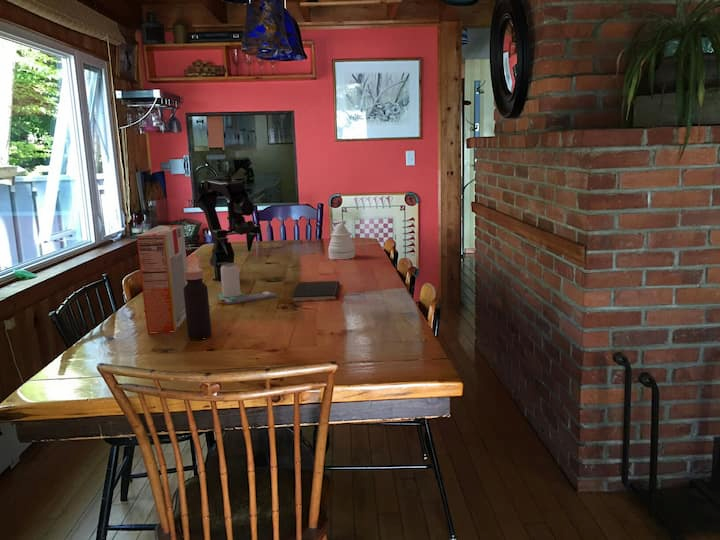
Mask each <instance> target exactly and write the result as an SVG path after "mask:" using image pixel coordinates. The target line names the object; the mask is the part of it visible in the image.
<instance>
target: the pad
mask: <svg viewBox="0 0 720 540" xmlns="http://www.w3.org/2000/svg"><path fill="white" fill-rule="evenodd" d="M240 296H245V295H244V293H243V292H242V291H240ZM217 297H218V300H219V302H222V300H224V299H225V297H224V296H223V293H221V294H217ZM238 297H239V296H238Z"/></svg>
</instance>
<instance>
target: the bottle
mask: <svg viewBox="0 0 720 540" xmlns="http://www.w3.org/2000/svg"><path fill="white" fill-rule="evenodd" d="M203 273H204V272H203V269H202V268H201V269H200V268H195V269H194V268H192V269H188V270H187V271H185V277H186V281H187V285H186V286H185V287H184V289H183V291H184V301H185V311H186V319H185V321H186V327H187V330H186V331H187V338H188V339H189V338H190V339H189V340H191V339H203V338H207V337H209V338H211V337H212V336H211V335H212V334H213V333H212V324H211V314H210V301H209V292H208V285H207V284H205V283H204V281H203V279H204V274H203ZM210 336H211V337H210ZM207 339H208V338H207ZM203 340H204V339H203Z"/></svg>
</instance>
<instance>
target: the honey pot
mask: <svg viewBox="0 0 720 540" xmlns="http://www.w3.org/2000/svg"><path fill="white" fill-rule="evenodd" d="M340 222H341V223H337V225H336V226H335V228H334V230H333V232H332V233H330V235H331V237H330V238H331V239H330V240H329V246H328V259H329V258H330V259H329V260H332V259H347V260H350V259H349V258H352V259H354V258H353V257H356V251H355V247H356V246H355V245H354V241H353V239H352V234H353V233H352V232H351V231H349V230H348V228H347V227H346V225H347V220H340Z"/></svg>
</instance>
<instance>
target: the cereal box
mask: <svg viewBox="0 0 720 540" xmlns="http://www.w3.org/2000/svg"><path fill="white" fill-rule="evenodd" d="M136 246H137V254H138V261H139V270H140V279H141V286H142V287H141V289H142V296H143V305H144V313H145V322H146V323H145V324H146V331H147V332H146V333H147V334H148V333H150V332H170V331H175V330H176V329H177V327H178V326H179V325H180V324H181V323H182V321H183V320H184V319H185V318H186V311H185V301H184V291H183V289H184V287H185V286H186V285H187V281H186V277H185V271H187V270H189V269H188V260H187V251H186V248H187V247H186V241H185V229H184V224H172V225H171V224H170V225H166V224H165V225H158V226H155V227H152V228H151V229H149V230H146V231H144V232H142V233H140V234H138V235H136ZM185 320H186V319H185ZM185 320H184V321H185ZM182 324H183V323H182ZM182 324H181V325H182ZM181 325H180V326H181ZM180 326H179V327H180ZM177 330H178V329H177ZM177 330H176V331H177ZM176 331H175V332H176Z"/></svg>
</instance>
